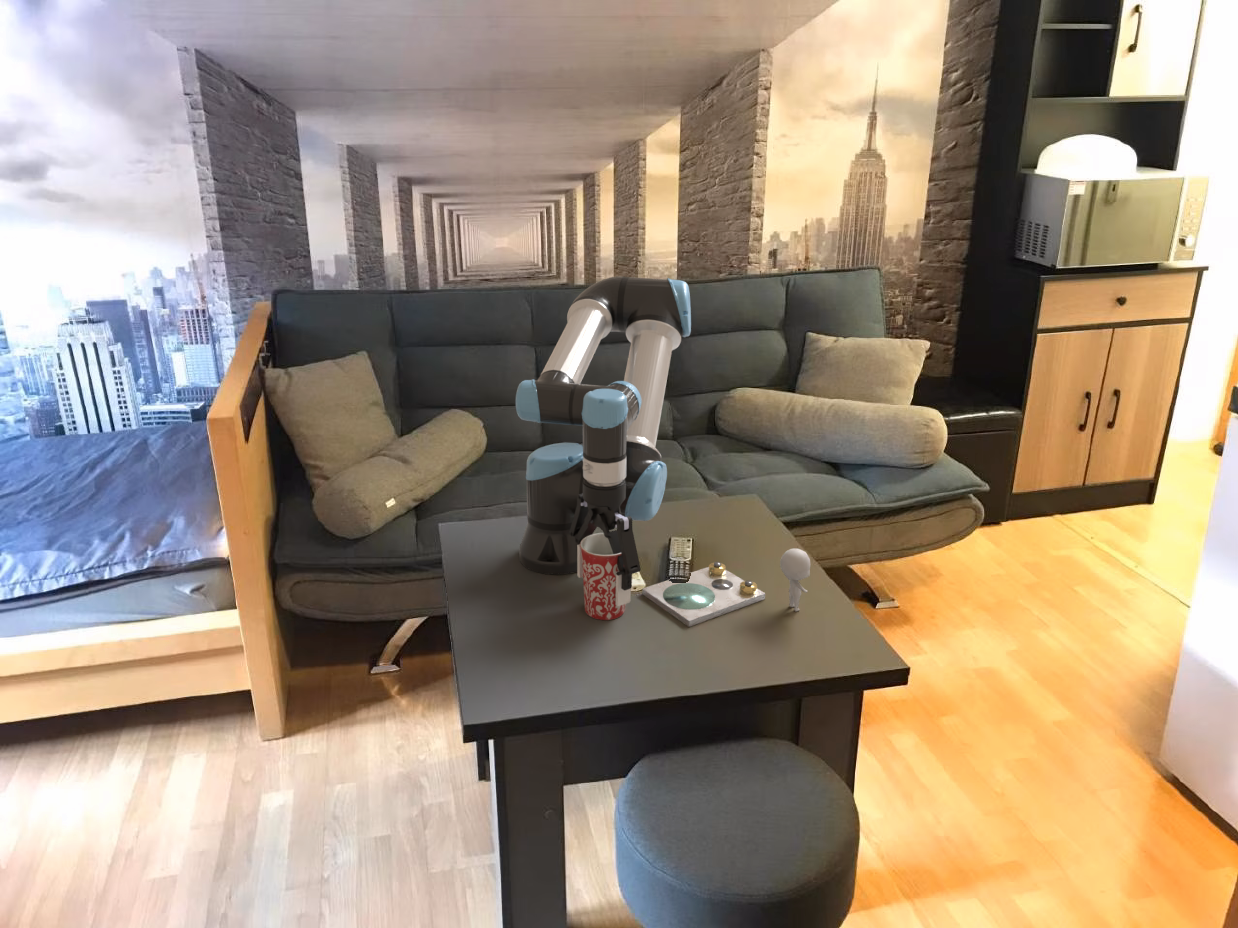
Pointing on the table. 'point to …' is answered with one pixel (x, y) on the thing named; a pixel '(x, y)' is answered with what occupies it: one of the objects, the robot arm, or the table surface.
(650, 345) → the robot arm
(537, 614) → the table surface
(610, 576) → the mug
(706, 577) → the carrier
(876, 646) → the table surface
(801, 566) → the figurine
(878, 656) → the table surface
